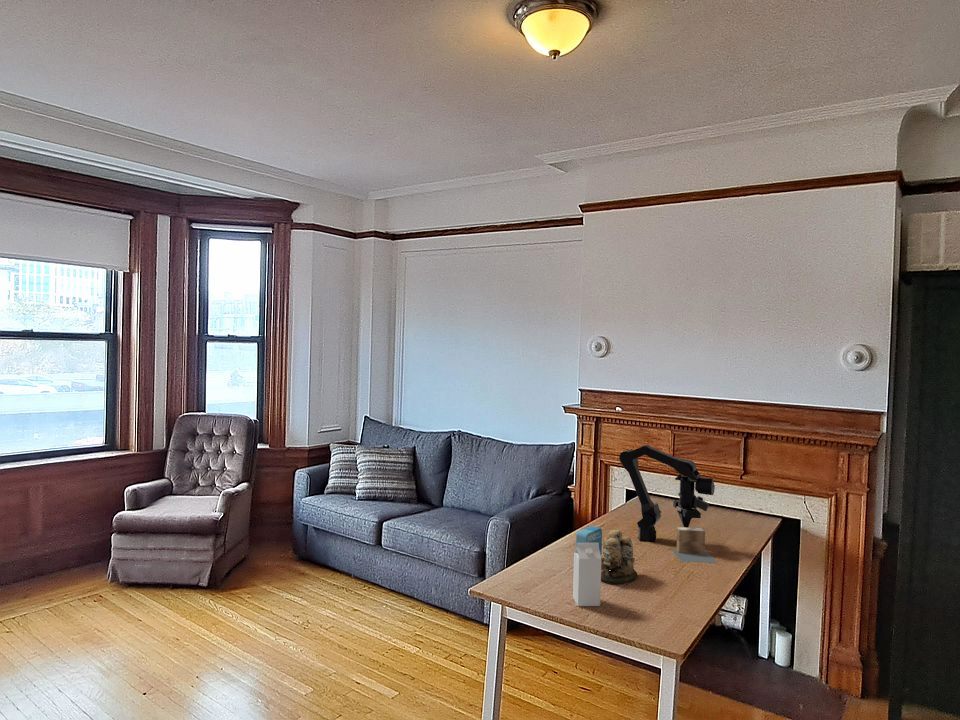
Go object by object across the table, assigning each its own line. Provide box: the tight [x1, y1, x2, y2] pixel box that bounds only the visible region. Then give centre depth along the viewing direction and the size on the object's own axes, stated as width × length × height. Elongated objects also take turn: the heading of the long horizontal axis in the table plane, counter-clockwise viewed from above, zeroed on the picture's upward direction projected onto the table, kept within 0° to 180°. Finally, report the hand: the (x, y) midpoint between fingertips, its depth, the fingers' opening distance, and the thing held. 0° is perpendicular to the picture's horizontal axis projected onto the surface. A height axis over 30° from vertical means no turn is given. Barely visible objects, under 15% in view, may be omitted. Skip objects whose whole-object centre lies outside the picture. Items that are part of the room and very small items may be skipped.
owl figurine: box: [601, 529, 638, 586], centre depth 227 cm, size 18×12×17 cm, turn 140°
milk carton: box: [572, 543, 602, 607], centre depth 204 cm, size 7×7×19 cm
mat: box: [670, 548, 719, 564], centre depth 251 cm, size 14×15×1 cm
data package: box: [575, 525, 603, 555], centre depth 244 cm, size 12×4×12 cm, turn 140°
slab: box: [676, 526, 706, 554], centre depth 255 cm, size 10×4×9 cm, turn 88°
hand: (685, 529), depth 262 cm, fingers closed
